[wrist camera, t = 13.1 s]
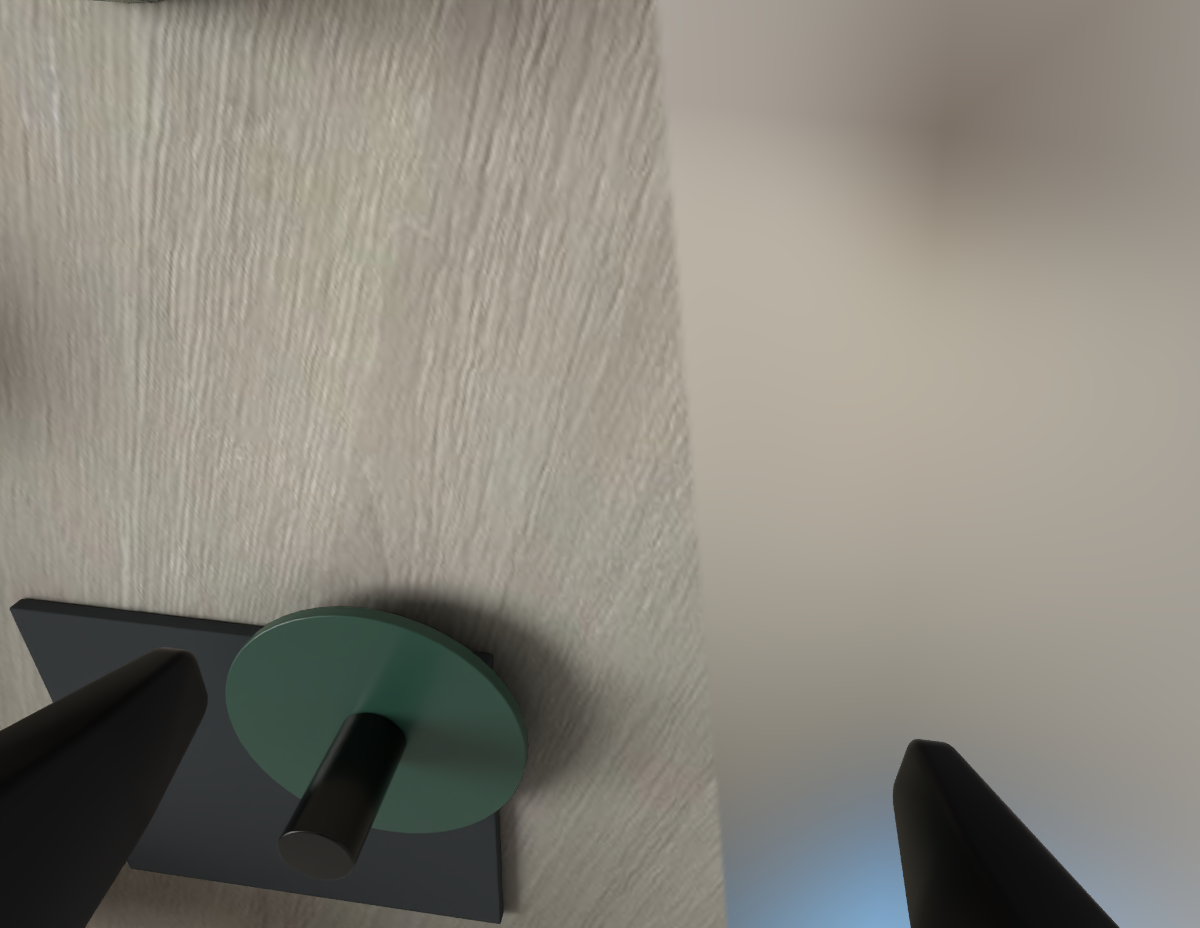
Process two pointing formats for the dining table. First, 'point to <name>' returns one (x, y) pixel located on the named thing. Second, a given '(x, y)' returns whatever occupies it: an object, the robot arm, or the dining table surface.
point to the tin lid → (372, 730)
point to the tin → (132, 1)
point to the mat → (251, 780)
